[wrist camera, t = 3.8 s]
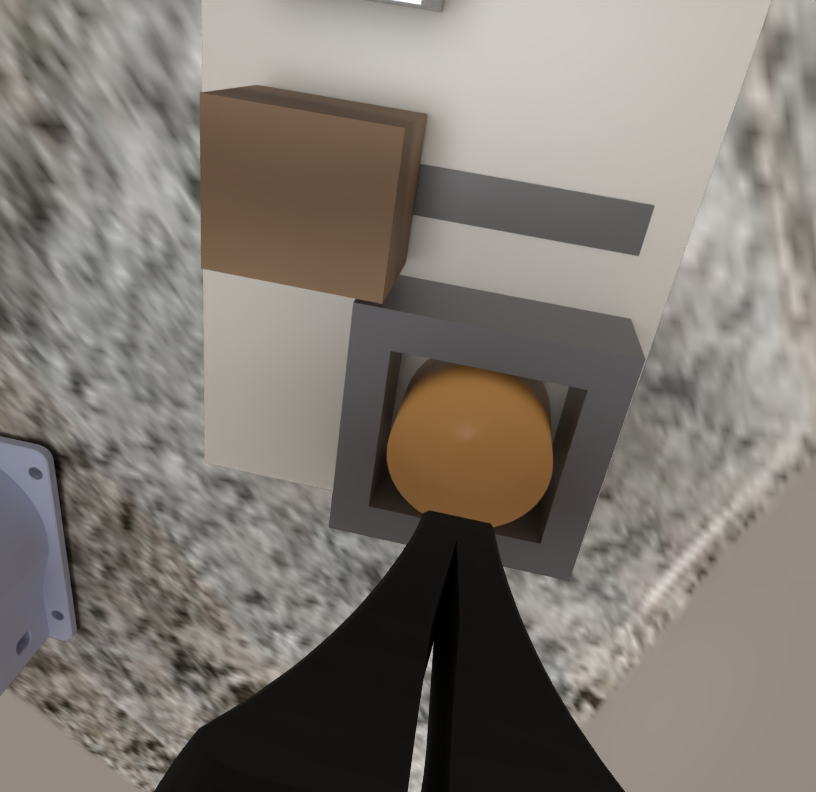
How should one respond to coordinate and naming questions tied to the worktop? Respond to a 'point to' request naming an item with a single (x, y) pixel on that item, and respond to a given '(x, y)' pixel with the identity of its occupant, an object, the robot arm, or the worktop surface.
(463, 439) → the orange button
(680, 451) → the worktop surface
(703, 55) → the panel
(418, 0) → the grey slider
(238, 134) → the small cardboard carton
